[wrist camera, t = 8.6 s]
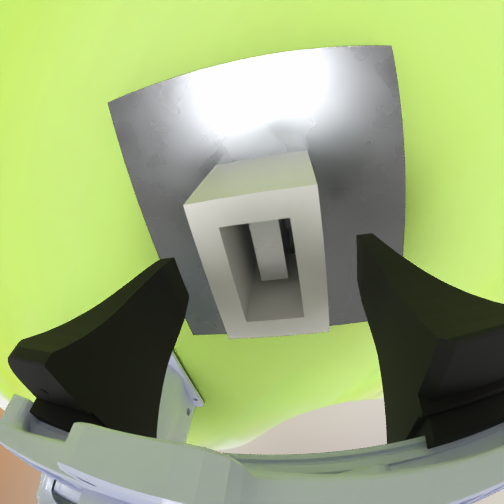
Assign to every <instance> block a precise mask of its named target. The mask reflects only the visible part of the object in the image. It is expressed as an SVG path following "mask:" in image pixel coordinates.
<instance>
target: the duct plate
mask: <svg viewBox="0 0 504 504" xmlns="http://www.w3.org/2000/svg"><path fill="white" fill-rule="evenodd" d="M108 106H109V110H110V113H111V117H112V121H113V124H114V128H115V131H116V135H117V138H118V141H119V145H120V148H121V151H122V155H123V158H124V161H125V164H126V167H127V170H128V173H129V177H130V180H131V183H132V185H133V188H134V191H135V194H136V197H137V200H138V203H139V206H140V208H141V211H142V214H143V217H144V219H145V222H146V225H147V227H148V230H149V233H150V235H151V238H152V241H153V243H154V246H155V248H156V251H157V253H158V256H159V258H160V259H164V258H172V257H174V258H175V261H176V263H177V266H178V269H179V271H180V274H181V276H182V279H183V281H184V284H185V286H186V289H187V291H188V294H189V301H188V307H187V311H186V315H185V319H186V321H187V323H188V325H189V327H190V329H191V331H192V334H193V335H206V334H227V332H226V329H225V327H224V324H223V321H222V319H221V316H220V313H219V310H218V308H217V305H216V302H215V299H214V296H213V294H212V291H211V288H210V285H209V282H208V279H207V277H206V274H205V271H204V268H203V265H202V262H201V259H200V256H199V253H198V250H197V247H196V244H195V241H194V238H193V235H192V232H191V229H190V226H189V223H188V219H187V216H186V213H185V210H184V207H183V205H184V203H185V202H186V201H187V200H188V198H189V197H190V196H191V195H192V193H193V192H194V191H195V190H196V188H197V187H198V186H199V185H200V183H201V182H202V181H203V180H204V179H205V177H206V176H207V175H208V174H209V173H210V171H211V170H212V169H213V168H214V167H215V165H219V164H225V163H230V162H235V161H241V160H246V159H252V158H258V157H264V156H271V155H277V154H284V153H291V152H298V151H306V150H307V151H308V155H309V158H310V161H311V165H312V168H313V171H314V175H315V178H316V182H317V186H318V194H319V202H320V211H321V220H322V230H323V240H324V251H325V263H326V275H327V290H328V306H329V326H333V325H341V324H350V323H357V322H365V321H368V320H367V317H366V314H365V311H364V308H363V305H362V302H361V297H360V292H359V287H358V282H357V243H356V235H361V234H369V233H372V234H374V235H375V236H376V237H378V238H379V239H380V240H382V241H383V242H384V243H385V244H387V245H388V246H389V247H391V248H392V249H393V250H394V251H396V252H397V253H398V254H400V255H401V256H402V257H403V246H404V227H405V155H404V138H403V124H402V114H401V104H400V96H399V88H398V81H397V74H396V68H395V62H394V56H393V51H392V46H341V47H326V48H315V49H305V50H297V51H289V52H282V53H275V54H269V55H263V56H258V57H253V58H248V59H243V60H238V61H233V62H229V63H225V64H221V65H217V66H213V67H209V68H205V69H201V70H198V71H194V72H191V73H187V74H184V75H181V76H177V77H174V78H171V79H168V80H165V81H162V82H159V83H156V84H154V85H151V86H148V87H145V88H143V89H140V90H137V91H135V92H132V93H130V94H127V95H125V96H122V97H120V98H117V99H115V100H113V101H110V102H108ZM249 227H250V232H251V236H252V240H253V245H254V249H255V253H256V258H257V262H258V267H259V271H260V275H261V280H262V281H267V280H277V279H287V278H288V266H289V253H295V246H294V240H293V233H292V227H291V220H290V218H284V219H276V220H269V221H261V222H254V223H249Z"/></svg>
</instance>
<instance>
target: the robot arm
mask: <svg viewBox="0 0 504 504" xmlns="http://www.w3.org/2000/svg"><path fill="white" fill-rule="evenodd" d="M356 243H357V282H358V287H359V292H360V297H361V302H362V305H363V308H364V311H365V314H366V317H367V320H368V323H369V326H370V330H371V333H372V336H373V339H374V342H375V346H376V350H377V354H378V359H379V365H380V371H381V377H382V385H383V393H384V402H385V414H386V429H387V444H385V445H379V446H373V447H367V448H360V449H353V450H345V451H336V452H325V453H311V454H288V455H252V454H230V453H220V452H217V451H214V450H211V449H208V448H206V447H201V446H195V445H190V444H186V439H187V435H188V432H189V428H190V424H191V420H192V416H193V412H194V409H195V406H196V407H202V406H204V401H203V400H202V398H201V397H200V395H199V393H198V392H197V390H196V389H195V387H194V385H193V384H192V382H191V381H190V379H189V377H188V376H187V374H186V372H185V371H184V369H183V367H182V366H181V364H180V362H179V361H178V359H177V357H176V356H175V354H174V352H173V349H174V346H175V343H176V341H177V338H178V335H179V333H180V330H181V327H182V324H183V322H184V319H185V315H186V311H187V307H188V301H189V294H188V291H187V289H186V286H185V284H184V281H183V279H182V276H181V274H180V271H179V269H178V266H177V263H176V261H175V258H174V257H172V258H164V259H160V260H159V261H157V262H155V263H154V264H152V265H151V266H149V267H148V268H147V269H145V270H144V271H143V272H142V273H140V274H139V275H138V276H136V277H135V278H134V279H132V280H131V281H130V282H129V283H127V284H126V285H125V286H123V287H122V288H121V289H119V290H118V291H117V292H115V293H114V294H113V295H111V296H110V297H109V298H107V299H106V300H104V301H103V302H101V303H100V304H98V305H97V306H95V307H94V308H92V309H90V310H89V311H87V312H86V313H84V314H82V315H80V316H78V317H76V318H74V319H73V320H71V321H69V322H67V323H65V324H63V325H60V326H58V327H56V328H54V329H51V330H49V331H46V332H44V333H41V334H38V335H35V336H32V337H29V338H26V339H23V340H21V341H20V342H19V343H18V344H17V346H16V347H15V348H14V350H13V351H12V353H11V354H10V356H9V357H8V363H9V366H10V368H11V369H12V371H13V373H14V374H15V375H16V376H17V377H18V379H19V380H20V381H21V382H22V383H23V384H24V385H25V386H26V387H27V388H28V389H29V390H30V391H31V392H32V394H33V395H34V396H35V397H37V398H36V400H35V402H34V403H33V402H32V401H30V400H29V399H27V398H25V397H22V396H20V395H17V394H14V395H13V397H12V399H11V401H10V402H9V404H8V406H7V408H6V409H5V411H4V413H3V415H2V417H1V419H0V444H1V445H3V446H4V447H5V448H7V449H8V450H9V451H11V452H12V453H13V454H15V455H16V456H17V457H19V458H20V459H22V460H23V461H24V462H26V463H27V464H29V465H30V466H32V467H34V468H35V469H37V470H39V471H40V472H42V474H41V479H40V481H41V483H40V486H39V489H38V491H37V495H36V496H37V498H38V502H37V503H38V504H472V503H474V502H477V501H479V500H481V499H483V498H486V497H488V496H490V495H492V494H494V493H496V492H498V491H500V490H502V489H504V304H501V303H497V302H493V301H490V300H487V299H484V298H481V297H478V296H475V295H472V294H470V293H467V292H465V291H462V290H460V289H458V288H456V287H453V286H451V285H449V284H447V283H445V282H443V281H441V280H439V279H437V278H435V277H434V276H432V275H430V274H428V273H427V272H425V271H423V270H422V269H420V268H419V267H417V266H416V265H414V264H413V263H411V262H410V261H408V260H407V259H405V258H404V257H402V256H401V255H400V254H398V253H397V252H396V251H394V250H393V249H392V248H391V247H389V246H388V245H387V244H385V243H384V242H383V241H382V240H380V239H379V238H378V237H376V236H375V235H374V234H372V233H369V234H361V235H356Z"/></svg>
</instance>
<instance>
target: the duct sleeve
mask: <svg viewBox="0 0 504 504" xmlns="http://www.w3.org/2000/svg"><path fill="white" fill-rule="evenodd" d="M183 207H184V210H185V213H186V216H187V219H188V223H189V226H190V229H191V232H192V235H193V238H194V241H195V244H196V247H197V250H198V253H199V256H200V259H201V262H202V265H203V268H204V271H205V274H206V277H207V279H208V282H209V285H210V288H211V291H212V294H213V296H214V299H215V302H216V305H217V308H218V310H219V313H220V316H221V319H222V321H223V324H224V327H225V329H226V332H227V335H228V337H229V339H240V338H259V337H274V336H288V335H299V334H310V333H320V332H330V327H329V306H328V290H327V275H326V263H325V251H324V240H323V230H322V220H321V211H320V202H319V194H318V186H317V182H316V178H315V175H314V171H313V168H312V165H311V161H310V158H309V155H308V151H307V150H306V151H298V152H291V153H284V154H277V155H271V156H264V157H258V158H252V159H246V160H241V161H235V162H230V163H225V164H219V165H215V167H214V168H213V169H212V170H211V171H210V173H209V174H208V175H207V176H206V177H205V179H204V180H203V181H202V182H201V183H200V185H199V186H198V187H197V188H196V190H195V191H194V192H193V193H192V195H191V196H190V197H189V198H188V200H187V201H186V202H185V203H184V205H183ZM284 218H290V220H291V227H292V233H293V240H294V246H295V253H289V266H288V278H287V279H277V280H267V281H262V280H261V275H260V271H259V267H258V262H257V258H256V253H255V249H254V245H253V240H252V236H251V232H250V227H249V223H254V222H261V221H269V220H276V219H284Z"/></svg>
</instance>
